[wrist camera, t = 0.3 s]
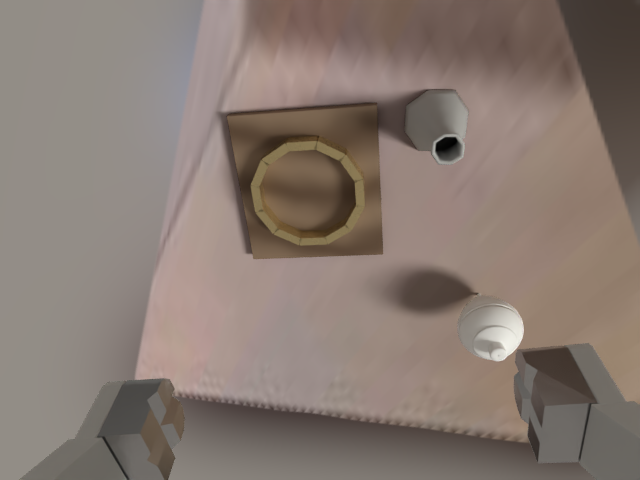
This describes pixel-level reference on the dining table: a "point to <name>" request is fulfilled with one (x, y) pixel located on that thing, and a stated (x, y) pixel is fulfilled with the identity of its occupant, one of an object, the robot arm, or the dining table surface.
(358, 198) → the wooden ring
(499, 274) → the dining table surface
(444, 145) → the flask
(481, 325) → the spinning top
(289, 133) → the walnut board
